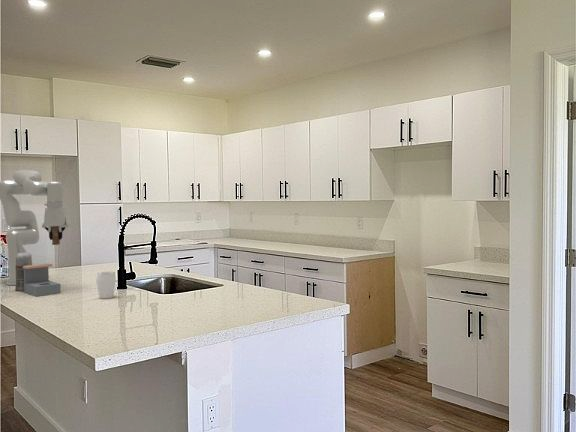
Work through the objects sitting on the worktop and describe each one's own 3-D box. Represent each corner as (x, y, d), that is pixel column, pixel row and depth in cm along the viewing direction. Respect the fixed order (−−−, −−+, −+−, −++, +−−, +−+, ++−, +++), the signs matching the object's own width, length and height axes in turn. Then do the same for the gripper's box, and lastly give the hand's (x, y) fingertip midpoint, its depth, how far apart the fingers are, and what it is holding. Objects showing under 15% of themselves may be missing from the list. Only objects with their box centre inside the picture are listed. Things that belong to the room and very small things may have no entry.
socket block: (23, 292, 268) (22, 266, 267) (48, 289, 277) (48, 263, 277) (35, 296, 257) (34, 268, 256) (61, 293, 266) (60, 266, 266)
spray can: (36, 288, 280) (35, 252, 279) (27, 291, 272) (26, 253, 271) (21, 288, 281) (20, 251, 280) (12, 291, 273) (11, 253, 272)
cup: (92, 298, 253) (92, 273, 253) (106, 294, 261) (106, 271, 261) (105, 299, 249) (105, 275, 249) (119, 296, 257) (119, 272, 257)
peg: (51, 244, 271) (50, 222, 270) (53, 244, 274) (53, 221, 274) (58, 244, 271) (58, 222, 271) (60, 244, 275) (60, 221, 274)
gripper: (35, 205, 267) (36, 240, 268) (69, 205, 269) (70, 239, 270) (40, 205, 274) (41, 239, 275) (73, 204, 277) (74, 238, 277)
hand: (55, 239), depth 272 cm, fingers closed on peg, 3 cm apart
